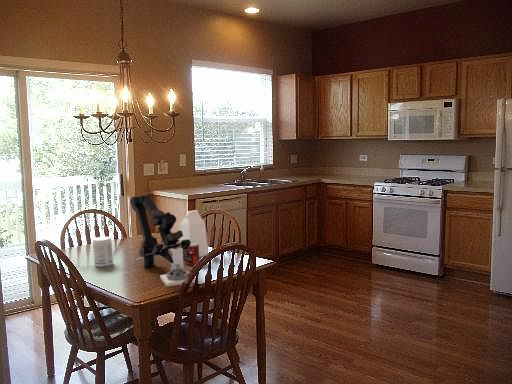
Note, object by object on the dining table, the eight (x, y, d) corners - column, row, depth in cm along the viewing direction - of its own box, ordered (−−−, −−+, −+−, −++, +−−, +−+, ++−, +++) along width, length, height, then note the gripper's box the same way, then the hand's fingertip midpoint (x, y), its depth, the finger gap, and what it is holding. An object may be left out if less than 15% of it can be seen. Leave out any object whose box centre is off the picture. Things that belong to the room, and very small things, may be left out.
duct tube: (168, 275, 224) (167, 248, 223) (176, 271, 230) (175, 246, 228) (178, 276, 222) (177, 250, 220) (186, 273, 227) (185, 247, 225)
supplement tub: (107, 261, 262) (106, 235, 260) (116, 264, 255) (114, 238, 254) (91, 264, 255) (89, 238, 253) (99, 268, 249) (97, 241, 247)
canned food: (181, 263, 254) (180, 244, 253) (193, 260, 260) (192, 241, 258) (190, 266, 249) (189, 246, 247) (202, 263, 254) (201, 243, 253)
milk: (190, 258, 264) (188, 213, 261) (180, 254, 273) (178, 210, 269) (208, 255, 271) (206, 210, 268) (197, 251, 280) (196, 208, 277)
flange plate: (160, 278, 230) (159, 271, 229) (188, 274, 235) (187, 267, 235) (166, 286, 217) (166, 279, 216) (195, 282, 222) (195, 275, 222)
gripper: (153, 228, 220) (165, 255, 213) (188, 223, 231) (200, 249, 224) (147, 241, 227) (158, 268, 220) (181, 235, 239) (193, 261, 231)
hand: (178, 261), depth 224 cm, fingers closed on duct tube, 6 cm apart
